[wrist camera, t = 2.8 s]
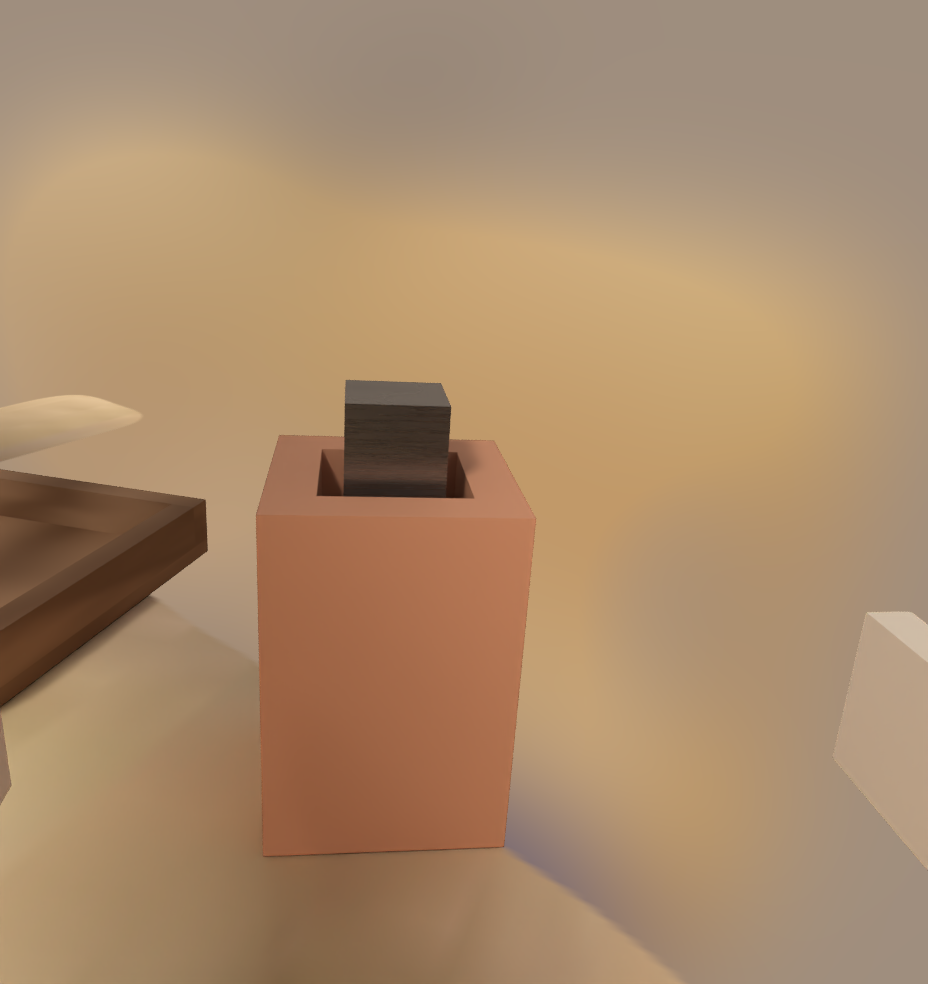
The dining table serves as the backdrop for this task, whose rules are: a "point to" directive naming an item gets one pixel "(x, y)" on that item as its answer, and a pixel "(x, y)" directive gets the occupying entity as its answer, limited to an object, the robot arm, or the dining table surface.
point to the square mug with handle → (389, 653)
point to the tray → (81, 563)
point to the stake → (396, 439)
